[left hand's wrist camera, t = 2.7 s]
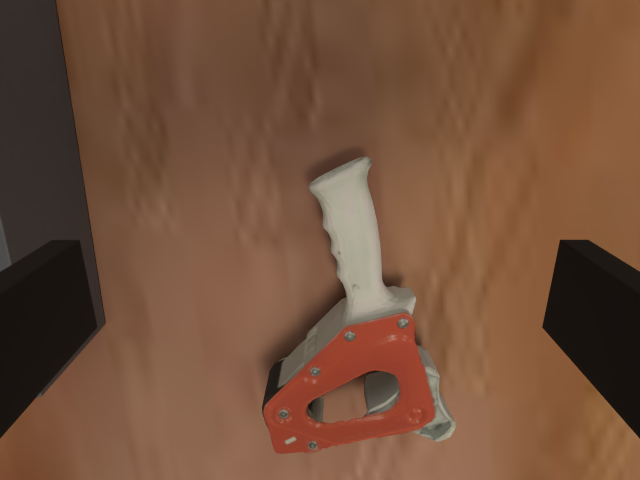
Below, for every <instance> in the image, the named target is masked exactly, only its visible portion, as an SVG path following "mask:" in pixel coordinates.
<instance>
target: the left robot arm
mask: <svg viewBox="0 0 640 480" xmlns="http://www.w3.org/2000/svg"><path fill="white" fill-rule="evenodd" d="M96 329H97V322H96V317H95V312H94V307H93V302H92V297H91V292H90V287H89V283H88V278H87V273H86V268H85V263H84V258H83V253H82V248H81V243H80V240H51V241H49V242H48V243H46V244H44V245H43V246H41V247H39V248H38V249H36V250H35V251H33V252H31V253H30V254H28V255H27V256H25V257H23V258H22V259H20V260H18V261H17V262H15V263H14V264H12V265H10V266H9V267H7V268H6V269H4V270H2V271H1V272H0V438H1V437H2V436H3V435H4V433H5V432H6V431H7V430H8V429H9V428H10V427H11V426H12V424H13V423H14V422H15V421H16V420H17V419H18V418H19V416H20V415H21V414H22V413H23V412H24V411H25V410H26V408H27V407H28V406H29V405H30V404H31V403H32V402H33V400H34V399H35V398H36V397H37V396H38V395H39V394H40V392H41V391H42V390H43V389H44V388H45V387H46V386H47V384H48V383H49V382H50V381H51V380H52V379H53V378H54V376H55V375H56V374H57V373H58V372H59V371H60V370H61V369H62V367H63V366H64V365H65V364H66V363H67V362H68V361H69V359H70V358H71V357H72V356H73V355H74V354H75V353H76V351H77V350H78V349H79V348H80V347H81V346H82V345H83V343H84V342H85V341H86V340H87V339H88V338H89V337H90V335H91V334H92V333H93V332H94V331H95V330H96ZM543 329H544V330H545V331H546V332H547V333H548V334H549V335H550V337H551V338H552V339H553V340H554V341H555V342H556V343H557V345H558V346H559V347H560V348H561V349H562V350H563V351H564V353H565V354H566V355H567V356H568V357H569V358H570V359H571V361H572V362H573V363H574V364H575V365H576V366H577V367H578V369H579V370H580V371H581V372H582V373H583V374H584V375H585V376H586V378H587V379H588V380H589V381H590V382H591V383H592V384H593V386H594V387H595V388H596V389H597V390H598V391H599V392H600V394H601V395H602V396H603V397H604V398H605V399H606V400H607V402H608V403H609V404H610V405H611V406H612V407H613V408H614V410H615V411H616V412H617V413H618V414H619V415H620V416H621V418H622V419H623V420H624V421H625V422H626V423H627V424H628V426H629V427H630V428H631V429H632V430H633V431H634V432H635V433H636V435H637V436H638V437H639V438H640V272H639V271H638V270H636V269H634V268H633V267H631V266H630V265H628V264H626V263H625V262H623V261H622V260H620V259H618V258H617V257H615V256H613V255H612V254H610V253H609V252H607V251H605V250H604V249H602V248H601V247H599V246H597V245H596V244H594V243H592V242H591V241H589V240H560V243H559V248H558V253H557V258H556V263H555V268H554V273H553V278H552V283H551V287H550V292H549V297H548V302H547V307H546V312H545V317H544V322H543Z"/></svg>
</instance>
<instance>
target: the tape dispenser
mask: <svg viewBox="0 0 640 480" xmlns="http://www.w3.org/2000/svg"><path fill="white" fill-rule="evenodd" d="M371 164H372V160H371V158H369V157H361V158H358V159H355V160H352V161H350V162H348V163H346V164H344V165H342V166H339V167H337V168H335V169H333V170H331V171H329V172H327V173H325V174H323V175H322V176H320V177H318V178H316V179H315V180H313V181H312V182H311V183H310V185H309V190H310V192H312V193H313V194H314V195H315V197H316V198H317V199H318V201H319V203H320V206H321V208H322V212H323V223H322V226H323V228H324V229H325V230H326V231H327V232H328V233H329V235H330V238H331V248H330V250H331V253H332V254H333V255H334V256H335V258H336V260H337V270H336V274H337V276H338V278H339V279H340V281H341V282H342V283H343V285H344V288H345V291H346V297H345V298H343V299H341V300H340V301H339V302H338V303H337V304H336V305H335V306H334V307H333V308H332V309H331V310H330V311H329V312H328V313H327V314H326V315H325V316H324V317H323V318H322V319H321V320H320V321H319V322H318V323H317V324H316V325H315V326H314V327H313V328H312V329H311V330H310V331H309V332H308V334H307V337H306V339H305V340H304V341H303V342H302V343H301V344H300V345H299V346H297V348H296V349H295V350H294V351H293V352H292V353H291V354H290V355H289V356H288V357H286V358H283V359H281V360H279V361H278V362H277V363H276V364H275V365H274V366H273V367H272V368H271V370H270V373H269V378H268V383H267V387H266V391H265V396H264V401H263V405H262V413H263V417H264V420H265V422H266V425H267V427H268V429H269V432H270V436H271V440H272V444H273V447H274V450H275V452H276V453H296V452H305V453H315V452H318V451H320V450H321V449H323V448H329V447H331V446H338V445H340V444H348V443H351V442H355V441H359V440H364V439H369V438H374V437H384V436H389V435H395V434H403V433H409V432H413V433H417V434H419V435H422V436H423V437H425V438H428V439H433V440H435V441H436V442H439V441H441V440H443V439H447V438H449V437H450V436H451V435H452V433H453V432H454V430H455V426H456V424H455V421H454V419H453V417H452V415H451V413H450V411H449V409H448V407H447V405H446V403H445V401H444V398H443V396H442V394H441V393H440V391H439V379H440V376H439V373H438V371H437V369H436V367H435V364H434V362H433V360H432V358H431V356H430V354H429V352H428V351H427V350H426V349H425V348H423V347H421V346H418V345H416V343H415V322H414V320H413V318H412V314H413V311H414V307H415V303H416V297H415V295H414V293H413V291H412V289H411V288H410V287H403V288H399V287H396V286H390V287H386V286H385V285H384V283H383V281H382V262H381V248H380V240H379V232H378V225H377V219H376V215H375V210H374V206H373V201H372V198H371V195H370V191H369V188H368V183H367V175H368V170H369V168H370V166H371ZM374 370H375V371H378V372H375V373H372V374H368V375H366V378H365V383H364V395H365V400H366V405H367V411H368V412H367V413H366V414H365V415H364V417H363V418H357V419H351V420H349V421H347V422H345V421H338V422H336V423H333V424H331V423H325V422H323V407H324V399H323V396H322V395H323V394H325V393H327V392H329V391H331V390H333V389H335V388H337V387H339V386H341V385H342V384H345V383H347V382H349V381H351V380H352V379H354V378H356V377H358V376H360V375H362V374H364V373H366V372H369V371H374Z"/></svg>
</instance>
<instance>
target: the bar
mask: <svg viewBox="0 0 640 480" xmlns="http://www.w3.org/2000/svg"><path fill="white" fill-rule="evenodd" d="M51 240H80V243H81V248H82V253H83V258H84V263H85V268H86V273H87V278H88V283H89V287H90V292H91V297H92V302H93V307H94V312H95V317H96V322H97V329H96V330H95V331H94V332H93V333H92V334H91V335H90V337H89V338H88V339H87V340H86V341H85V342H84V343H83V345H82V346H81V347H80V348H79V349H78V350H77V351H76V353H75V354H74V355H73V356H72V357H71V358H70V359H69V361H68V362H67V363H66V364H65V365H64V366H63V367H62V369H61V370H60V371H59V372H58V373H57V374H56V375H55V376H54V378H53V379H52V380H51V381H50V382H49V383H48V384H47V386H46V387H45V388H44V389H43V390H42V391H41V392H40V394H39V395H38V396H37V397H41V396H42V395H43V394H44V393H45V392H46V391H47V390H48V389H49V387H50V386H51V385H52V384H53V383H54V382H55V381H56V379H57V378H58V377H59V376H60V375H61V374H62V373H63V371H64V370H65V369H66V368H67V367H68V366H69V365H70V364H71V362H72V361H73V360H74V359H75V358H76V357H77V356H78V354H79V353H80V352H81V351H82V350H83V349H84V348H85V346H86V345H87V344H88V343H89V342H90V341H91V340H92V338H93V337H94V336H95V335H96V334H97V333H98V332H99V331H100V329H101V328H102V327H103V326H104V325H105V319H104V312H103V306H102V299H101V293H100V286H99V280H98V273H97V267H96V261H95V254H94V248H93V241H92V235H91V228H90V222H89V215H88V209H87V203H86V196H85V190H84V183H83V177H82V170H81V164H80V157H79V151H78V145H77V138H76V132H75V125H74V119H73V112H72V106H71V99H70V93H69V86H68V80H67V74H66V67H65V61H64V54H63V48H62V41H61V35H60V28H59V22H58V16H57V9H56V3H55V0H0V272H1V271H2V270H4V269H6V268H7V267H9V266H10V265H12V264H14V263H15V262H17V261H18V260H20V259H22V258H23V257H25V256H27V255H28V254H30V253H31V252H33V251H35V250H36V249H38V248H39V247H41V246H43V245H44V244H46V243H48V242H49V241H51Z"/></svg>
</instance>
